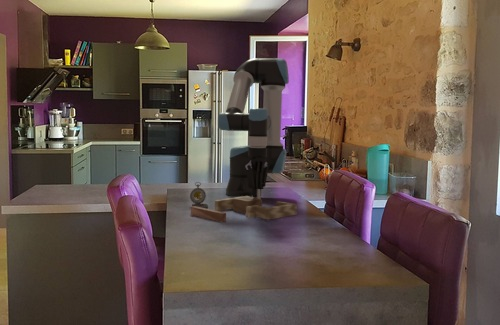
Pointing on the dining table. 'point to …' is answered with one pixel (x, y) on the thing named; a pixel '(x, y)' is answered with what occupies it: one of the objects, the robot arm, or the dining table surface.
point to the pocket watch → (198, 196)
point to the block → (245, 203)
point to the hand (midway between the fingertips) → (256, 204)
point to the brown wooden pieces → (251, 211)
